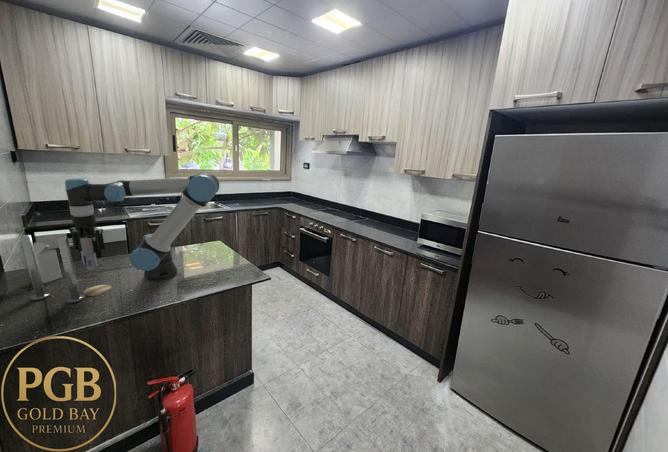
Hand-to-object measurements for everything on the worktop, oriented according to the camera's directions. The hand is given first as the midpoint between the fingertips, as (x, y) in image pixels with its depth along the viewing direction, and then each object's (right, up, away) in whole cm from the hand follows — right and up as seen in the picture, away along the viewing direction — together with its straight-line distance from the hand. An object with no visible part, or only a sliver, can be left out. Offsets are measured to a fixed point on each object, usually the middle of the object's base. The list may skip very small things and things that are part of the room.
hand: (92, 264), depth 123 cm
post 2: (-3, -15, -5) cm, 16 cm away
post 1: (-19, -14, -4) cm, 24 cm away
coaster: (-1, -13, +3) cm, 13 cm away
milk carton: (-32, -10, +11) cm, 35 cm away
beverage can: (0, -2, 0) cm, 2 cm away
